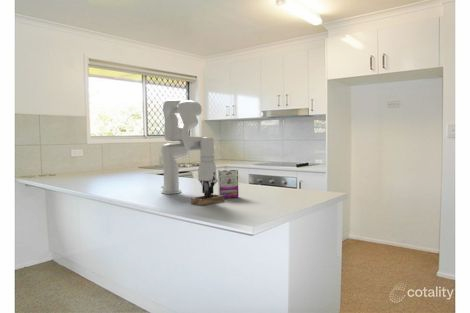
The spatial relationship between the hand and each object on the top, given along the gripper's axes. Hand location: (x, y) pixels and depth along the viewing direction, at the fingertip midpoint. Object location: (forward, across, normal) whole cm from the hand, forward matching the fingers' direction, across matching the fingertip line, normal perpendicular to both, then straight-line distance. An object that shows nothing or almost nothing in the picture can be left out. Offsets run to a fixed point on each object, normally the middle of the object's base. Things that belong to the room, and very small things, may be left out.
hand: (207, 192), depth 187 cm
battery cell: (+2, 0, 0) cm, 2 cm away
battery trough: (+5, 0, 0) cm, 5 cm away
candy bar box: (+5, -1, +18) cm, 19 cm away
